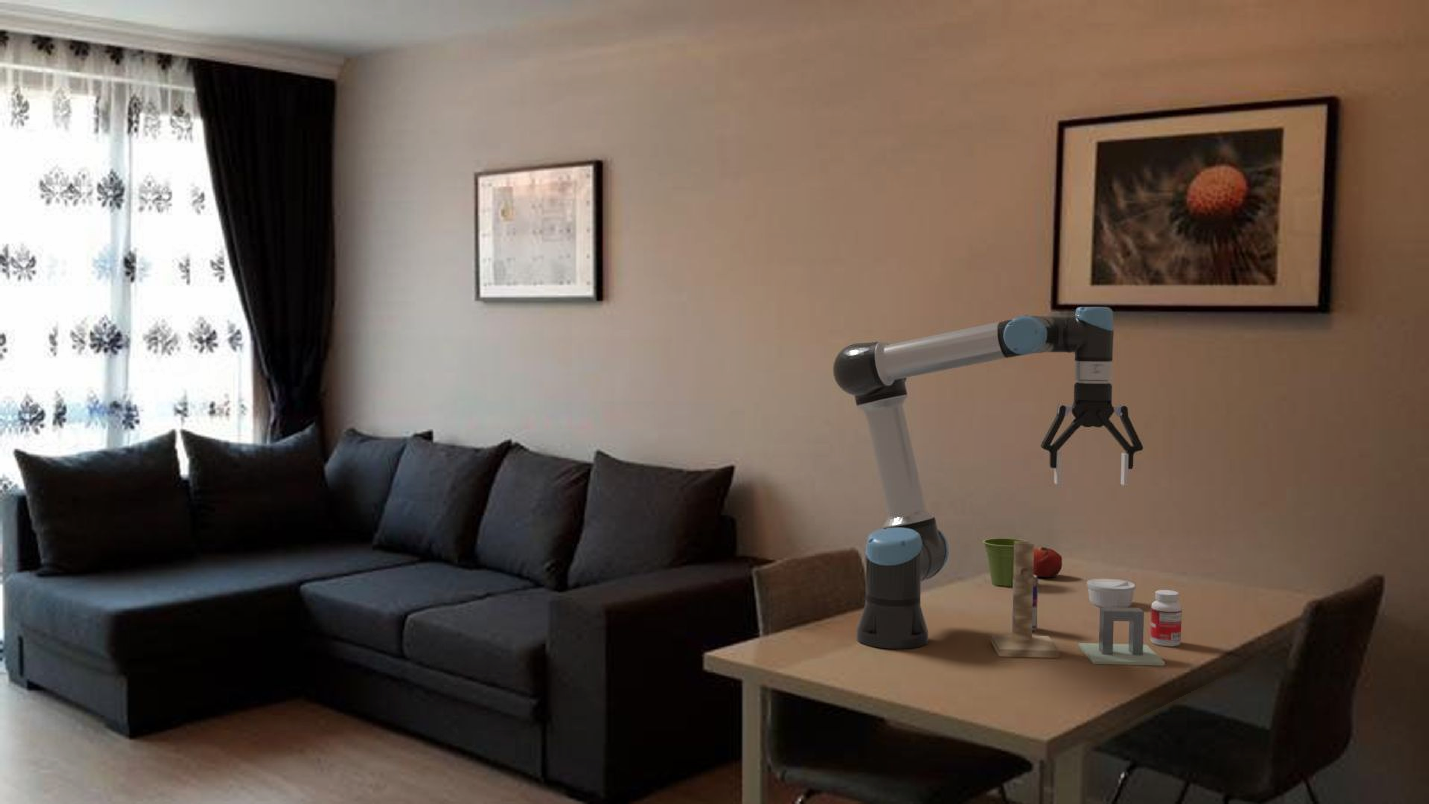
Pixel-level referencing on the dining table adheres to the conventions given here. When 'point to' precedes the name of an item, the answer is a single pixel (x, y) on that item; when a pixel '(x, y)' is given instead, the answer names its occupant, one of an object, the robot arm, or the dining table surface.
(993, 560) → the plant pot
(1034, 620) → the energy drink
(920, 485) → the robot arm
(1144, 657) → the mat
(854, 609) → the dining table surface
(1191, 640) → the dining table surface
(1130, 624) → the c link
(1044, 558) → the tomato
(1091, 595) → the ramekin
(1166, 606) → the pill bottle
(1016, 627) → the stand
